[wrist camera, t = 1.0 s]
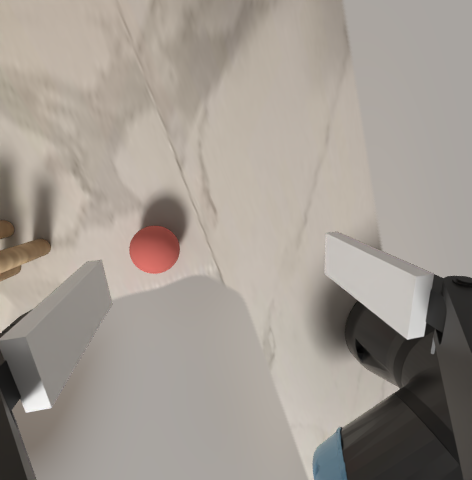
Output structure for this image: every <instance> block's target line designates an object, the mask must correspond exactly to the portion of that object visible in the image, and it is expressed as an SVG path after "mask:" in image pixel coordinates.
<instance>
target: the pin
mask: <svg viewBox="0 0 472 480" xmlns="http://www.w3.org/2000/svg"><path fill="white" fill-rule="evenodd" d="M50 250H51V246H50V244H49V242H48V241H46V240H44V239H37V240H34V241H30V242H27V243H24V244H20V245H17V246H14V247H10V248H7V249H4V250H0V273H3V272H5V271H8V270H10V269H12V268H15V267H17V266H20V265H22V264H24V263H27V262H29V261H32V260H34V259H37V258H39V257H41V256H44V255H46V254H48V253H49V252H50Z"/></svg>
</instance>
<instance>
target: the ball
mask: <svg viewBox="0 0 472 480" xmlns="http://www.w3.org/2000/svg"><path fill="white" fill-rule="evenodd" d="M129 251H130V257H131V259H132V261H133V263H134V264H135V265H136V266H137V267H138V268H139V269H140V270H142V271H144V272H147V273H153V274H154V273H162V272H164V271H166V270H168V269H170V268H171V267H172V266H173V265H174V264H175V263H176V261H177V259H178V257H179V252H180V247H179V242H178V240H177V238H176V236H175V235H174V234H173V233H172V232H171V231H170V230H168V229H167V228H164V227H161V226H149V227H145V228H143V229H141V230H140V231H138V232H137V233H136V234H135V235H134V237H133V238H132V240H131V243H130V249H129Z"/></svg>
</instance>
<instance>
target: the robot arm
mask: <svg viewBox="0 0 472 480" xmlns="http://www.w3.org/2000/svg"><path fill="white" fill-rule="evenodd" d="M325 275H327V276H328V277H329V278H330V279H332V280H333V281H334V282H335V283H337V284H338V285H339V286H340V287H342V288H343V289H344V290H345V291H347V292H348V293H349V294H351V295H352V296H353V297H354V298H356V299H357V300H358V302H357V303H356V304H355V306H354V307H353V309H352V311H351V312H350V314H349V317H348V320H347V323H346V329H345V337H346V342H347V346H348V348H349V350H350V352H351V353H352V354H353V356H354V357H355V358H356V359H357V360H358V361H359V362H360V364H361V365H363V366H364V367H365V368H366V369H368V370H369V371H371V372H373V373H374V374H376V375H378V376H380V377H382V378H383V379H385V380H387V381H389V382H390V383H392V384H394V385H396V386H398V387H399V388H400V390H398V391H397V392H395V393H394V394H392V395H390V396H389V397H388V398H386V399H385V400H383V401H382V402H380V403H379V404H377V405H376V406H374V407H373V408H371V409H370V410H368V411H367V412H365V413H364V414H362V415H361V416H359V417H358V418H357V419H355V420H354V421H352V422H351V423H349V424H348V425H346V426H345V427H343V428H342V427H339V428H338V429H337V431H336V433H334V434H333V435H332V436H331V437H329V438H328V439H327V440H325V441H324V442H323V443H322V444H320V445H319V446H318V447H317V449H316V450H315V453H314V456H313V475H314V480H472V278H470V277H465V276H448V277H445V278H441V277H439V276H437V275H435V274H433V273H431V272H429V271H427V270H424V269H422V268H419V267H417V266H415V265H413V264H411V263H408V262H406V261H404V260H401V259H399V258H397V257H394V256H392V255H390V254H388V253H385V252H383V251H381V250H378V249H376V248H374V247H371V246H369V245H367V244H365V243H362V242H360V241H358V240H355V239H353V238H351V237H349V236H346V235H344V234H342V233H339V232H329V233H326V241H325ZM111 306H112V300H111V296H110V292H109V288H108V284H107V280H106V275H105V271H104V267H103V263H102V260H97V261H88V262H86V263H85V264H84V265H83V266H81V267H80V268H79V269H78V270H77V271H76V272H75V273H73V274H72V275H71V276H70V277H69V278H68V279H67V280H66V281H64V282H63V283H62V284H61V285H60V286H59V287H58V288H56V289H55V290H54V291H53V292H52V293H51V294H50V295H49V296H47V297H46V298H45V299H44V300H43V301H42V302H41V303H39V304H38V305H37V306H36V307H35V308H34V309H32V310H30V311H29V312H27V313H25V314H23V315H22V316H20V317H19V318H17V319H16V320H15V321H14V322H13V323H12V324H10V326H8V327H7V328H6V329H5V330H3V331H2V333H0V480H36V477H35V474H34V471H33V468H32V466H31V463H30V460H29V457H28V454H27V451H26V448H25V446H24V443H23V440H22V437H21V434H20V431H19V428H18V425H17V423H16V420H15V417H14V415H13V413H12V409H13V407H14V406H15V405H16V403H17V402H18V401H19V399H21V401H22V404H23V407H24V409H25V411H26V413H27V412H32V411H37V410H43V409H48V408H52V406H53V405H54V403H55V401H56V399H57V398H58V396H59V394H60V393H61V391H62V389H63V388H64V386H65V384H66V382H67V381H68V379H69V377H70V375H71V374H72V372H73V370H74V369H75V367H76V365H77V364H78V362H79V360H80V359H81V357H82V355H83V353H84V352H85V350H86V348H87V347H88V345H89V343H90V342H91V340H92V338H93V337H94V335H95V333H96V331H97V329H98V328H99V326H100V325H101V323H102V321H103V319H104V318H105V316H106V314H107V313H108V311H109V309H110V308H111Z"/></svg>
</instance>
